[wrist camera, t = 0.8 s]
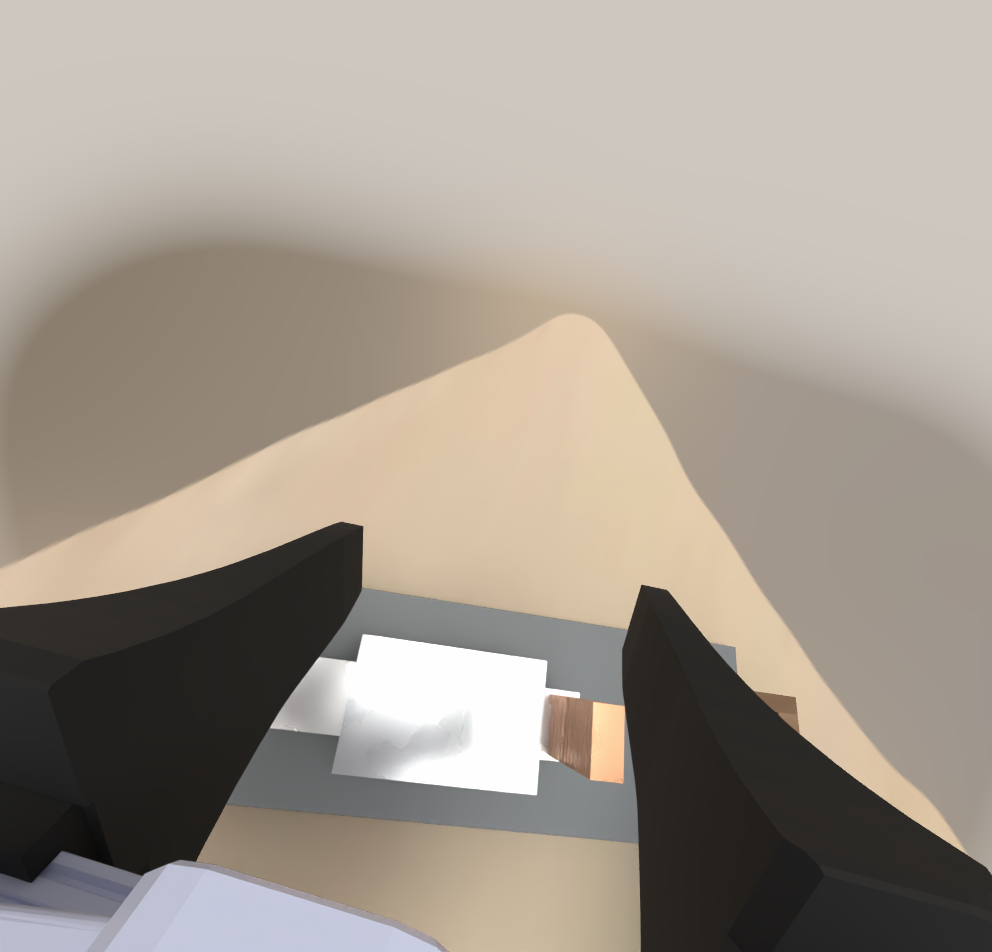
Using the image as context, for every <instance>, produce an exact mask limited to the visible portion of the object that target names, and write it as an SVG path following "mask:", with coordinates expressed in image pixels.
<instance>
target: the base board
mask: <svg viewBox="0 0 992 952" xmlns="http://www.w3.org/2000/svg"><path fill="white" fill-rule="evenodd" d="M627 632H628V630H624V629H618V628H611V627H605V626H599V625H592V624H586V623H580V622H574V621H567V620H561V619H555V618H548V617H542V616H536V615H530V614H523V613H517V612H511V611H504V610H498V609H492V608H486V607H479V606H473V605H467V604H460V603H454V602H448V601H442V600H435V599H429V598H423V597H417V596H410V595H404V594H398V593H391V592H385V591H379V590H373V589H366V588H362V591H361V593H360V595H359V597H358V599H357V601H356V603H355V604H354V606H353V608H352V610H351V612H350V613H349V615H348V617H347V619H346V621H345V622H344V624H343V625H342V627H341V628H340V629H339V631H338V632H337V633H336V635H335V636H334V638H333V639H332V640H331V642H330V643H329V644H328V646H327V647H326V648H325V650H324V651H323V652H322V654H321V655H320V656H319V657H325V658H332V659H340V660H347V661H354V662H357V658H358V653H359V649H360V645H361V640H362V636H363V634H365V635H372V636H378V637H385V638H392V639H399V640H406V641H413V642H420V643H426V644H433V645H440V646H447V647H454V648H461V649H468V650H474V651H481V652H488V653H495V654H502V655H509V656H516V657H522V658H529V659H536V660H543V661H547V669H546V682H545V688H550V689H557V690H564V691H570V692H577V693H580V698H583V699H588V700H594V701H599V702H604V703H610V704H615V705H621V706H624V698H623V690H622V648H623V645H624V642H625V638H626V635H627ZM710 644H711V645H712V646H713V648H714V649H715V650H716V651H717V652H718V653H719V655H720V656H721V657H722V658H723V659H724V660H725V661H726V663H727V664H728V665H729V666H730V667H731V668H732V669H733V670H734V671H735V672H736V673H737V665H736V651H735V647H731V646H724V645H718V644H712V643H710ZM339 737H340V736H334V735H326V734H317V733H309V732H300V731H291V730H283V729H274V728H269V730H268V732H267V733H266V735H265V737H264V738H263V740H262V742H261V743H260V745H259V747H258V748H257V750H256V752H255V754H254V755H253V757H252V759H251V761H250V762H249V764H248V766H247V768H246V769H245V771H244V773H243V775H242V776H241V778H240V780H239V782H238V783H237V785H236V787H235V789H234V790H233V792H232V794H231V796H230V798H229V800H228V802H227V803H226V805H235V806H246V807H257V808H267V809H278V810H289V811H299V812H310V813H321V814H331V815H342V816H353V817H363V818H374V819H385V820H395V821H406V822H417V823H427V824H438V825H449V826H459V827H470V828H481V829H491V830H502V831H513V832H523V833H534V834H545V835H555V836H566V837H577V838H588V839H598V840H609V841H620V842H630V843H639V839H638V814H637V798H636V787H635V778H634V771H633V764H632V757H631V749H630V742H629V735H628V728H627V721H626V713H625V724H624V780H623V784H622V783H613V782H604V781H595V780H590V779H588V778H586V777H584V776H583V775H581V774H579V773H578V772H576V771H574V770H573V769H571V768H569V767H567V766H566V765H564V764H562V763H561V762H558V761H550V760H541V759H539V770H538V783H537V795H530V794H520V793H511V792H501V791H492V790H482V789H473V788H463V787H454V786H444V785H435V784H425V783H416V782H406V781H397V780H387V779H378V778H368V777H359V776H349V775H339V774H331V772H332V768H333V763H334V759H335V755H336V750H337V746H338V741H339Z"/></svg>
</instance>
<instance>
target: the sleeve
mask: <svg viewBox="0 0 992 952" xmlns="http://www.w3.org/2000/svg"><path fill="white" fill-rule="evenodd" d="M546 669H547V661H543V660H536V659H529V658H522V657H516V656H509V655H502V654H495V653H488V652H481V651H474V650H468V649H461V648H454V647H447V646H440V645H433V644H426V643H420V642H413V641H406V640H399V639H392V638H385V637H378V636H372V635H365V634H363V636H362V640H361V645H360V649H359V653H358V658H357V662H356V667H355V671H354V675H353V680H352V684H351V689H350V693H349V697H348V702H347V706H346V711H345V715H344V719H343V724H342V728H341V733H340V737H339V741H338V746H337V750H336V755H335V759H334V763H333V768H332V772H331V774H339V775H349V776H359V777H368V778H378V779H387V780H397V781H406V782H416V783H425V784H435V785H444V786H454V787H463V788H473V789H482V790H492V791H501V792H511V793H520V794H530V795H537V783H538V770H539V758H540V745H541V732H542V720H543V707H544V694H545V682H546Z"/></svg>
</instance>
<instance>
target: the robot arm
mask: <svg viewBox="0 0 992 952" xmlns="http://www.w3.org/2000/svg"><path fill="white" fill-rule="evenodd" d="M362 557H363V526H359V525H354V524H350V523H345V522H339V523H336V524H333V525H330V526H328V527H325V528H323V529H320V530H318V531H315V532H313V533H310V534H308V535H306V536H303V537H301V538H298V539H296V540H293V541H291V542H289V543H286V544H284V545H281V546H279V547H276V548H274V549H271V550H269V551H266V552H263V553H261V554H258V555H255V556H253V557H250V558H247V559H244V560H242V561H239V562H236V563H234V564H231V565H228V566H225V567H222V568H218V569H215V570H212V571H209V572H205V573H202V574H198V575H194V576H191V577H187V578H184V579H180V580H176V581H172V582H167V583H163V584H158V585H153V586H149V587H144V588H140V589H135V590H131V591H126V592H121V593H115V594H109V595H103V596H98V597H91V598H84V599H77V600H71V601H63V602H55V603H47V604H37V605H27V606H17V607H7V608H0V952H448V951H447V950H446V949H445V948H444V947H443V946H442V945H441V944H440V943H439V942H438V941H437V940H436V939H434V938H432V937H430V936H428V935H426V934H424V933H422V932H419V931H417V930H415V929H413V928H411V927H409V926H407V925H404V924H402V923H400V922H398V921H396V920H393V919H389V918H386V917H383V916H380V915H376V914H373V913H370V912H367V911H363V910H360V909H357V908H354V907H350V906H347V905H344V904H341V903H337V902H334V901H331V900H328V899H324V898H321V897H318V896H315V895H311V894H308V893H305V892H302V891H298V890H295V889H292V888H289V887H285V886H282V885H279V884H276V883H273V882H269V881H266V880H263V879H260V878H256V877H253V876H250V875H247V874H243V873H240V872H237V871H234V870H230V869H227V868H224V867H221V866H217V865H214V864H207V863H199V862H196V860H197V858H198V856H199V854H200V852H201V850H202V848H203V846H204V844H205V842H206V841H207V839H208V837H209V835H210V833H211V831H212V829H213V828H214V826H215V824H216V822H217V820H218V818H219V816H220V815H221V813H222V811H223V809H224V807H225V805H226V803H227V802H228V800H229V798H230V796H231V794H232V792H233V790H234V789H235V787H236V785H237V783H238V782H239V780H240V778H241V776H242V775H243V773H244V771H245V769H246V768H247V766H248V764H249V762H250V761H251V759H252V757H253V755H254V754H255V752H256V750H257V748H258V747H259V745H260V743H261V742H262V740H263V738H264V737H265V735H266V733H267V732H268V730H269V728H270V727H271V725H272V723H273V722H274V720H275V718H276V717H277V715H278V713H279V712H280V710H281V709H282V707H283V706H284V704H285V703H286V701H287V700H288V698H289V697H290V695H291V694H292V693H293V691H294V690H295V689H296V687H297V686H298V685H299V683H300V682H301V681H302V679H303V678H304V677H305V675H306V674H307V673H308V671H309V670H310V669H311V667H312V666H313V664H314V663H315V662H316V660H317V659H318V658H319V656H320V655H321V654H322V652H323V651H324V650H325V648H326V647H327V646H328V644H329V643H330V642H331V640H332V639H333V638H334V636H335V635H336V633H337V632H338V631H339V629H340V628H341V627H342V625H343V624H344V622H345V621H346V619H347V617H348V615H349V613H350V612H351V610H352V608H353V606H354V604H355V603H356V601H357V599H358V597H359V595H360V593H361V591H362ZM622 690H623V698H624V706H625V713H626V721H627V728H628V735H629V742H630V749H631V757H632V764H633V771H634V778H635V787H636V798H637V814H638V839H639V870H640V912H641V952H992V875H991V873H990V872H989V871H988V869H987V868H986V867H985V866H983V865H981V864H980V863H978V862H977V861H975V860H974V859H972V858H971V857H969V856H968V855H966V854H965V853H963V852H962V851H960V850H959V849H957V848H955V847H954V846H952V845H951V844H949V843H948V842H946V841H945V840H943V839H942V838H940V837H939V836H937V835H935V834H934V833H932V832H931V831H929V830H928V829H926V828H925V827H923V826H922V825H920V824H919V823H917V822H915V821H914V820H912V819H911V818H909V817H908V816H906V815H905V814H904V813H902V812H901V811H899V810H898V809H896V808H895V807H894V806H892V805H891V804H889V803H888V802H887V801H885V800H884V799H882V798H881V797H880V796H878V795H877V794H876V793H874V792H873V791H871V790H870V789H869V788H867V787H866V786H864V785H863V784H862V783H860V782H859V781H858V780H856V779H855V778H854V777H852V776H851V775H850V774H848V773H847V772H846V771H845V770H843V769H842V768H841V767H839V766H838V765H837V764H835V763H834V762H833V761H832V760H831V759H829V758H828V757H827V756H826V755H824V754H823V753H822V752H821V751H820V750H818V749H817V748H816V747H815V746H813V745H812V744H811V743H810V742H809V741H807V740H806V739H805V738H804V737H802V736H801V735H800V734H799V733H798V732H797V731H796V730H794V729H793V728H792V727H791V726H790V725H789V724H788V723H786V722H785V721H784V720H783V719H782V718H781V717H780V716H779V715H778V714H777V713H776V712H775V711H774V710H773V709H771V708H770V707H769V706H768V705H767V704H766V703H765V702H764V701H763V700H762V699H761V698H760V697H759V696H758V695H757V694H756V693H755V692H754V691H753V690H752V689H751V688H750V687H749V686H748V685H747V684H746V683H745V682H744V681H743V680H742V679H741V678H740V677H739V676H738V674H737V673H736V672H735V671H734V670H733V669H732V668H731V667H730V666H729V665H728V664H727V663H726V661H725V660H724V659H723V658H722V657H721V656H720V655H719V653H718V652H717V651H716V650H715V649H714V648H713V646H712V645H711V644H710V643H709V642H708V640H707V639H706V638H705V637H704V636H703V634H702V633H701V632H700V631H699V629H698V628H697V627H696V626H695V624H694V623H693V622H692V621H691V619H690V618H689V617H688V616H687V614H686V613H685V612H684V610H683V609H682V608H681V607H680V605H679V604H678V603H677V602H676V600H675V599H674V598H673V597H672V595H671V594H670V593H669V592H668V591H667V590H664V589H659V588H655V587H650V586H645V585H641V588H640V592H639V595H638V598H637V602H636V605H635V608H634V612H633V615H632V618H631V622H630V625H629V628H628V632H627V635H626V638H625V642H624V645H623V648H622Z"/></svg>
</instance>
